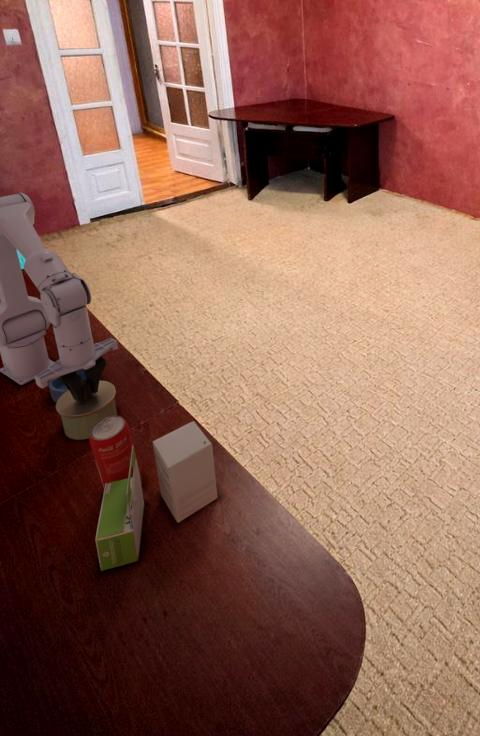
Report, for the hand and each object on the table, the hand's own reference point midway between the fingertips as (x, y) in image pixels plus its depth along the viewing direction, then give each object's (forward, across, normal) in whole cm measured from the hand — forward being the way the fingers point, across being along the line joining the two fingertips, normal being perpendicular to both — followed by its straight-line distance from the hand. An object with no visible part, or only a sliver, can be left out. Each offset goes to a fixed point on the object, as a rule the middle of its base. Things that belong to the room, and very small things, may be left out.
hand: (85, 395), depth 97 cm
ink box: (+7, -12, -28) cm, 31 cm away
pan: (+7, +4, +12) cm, 14 cm away
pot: (+7, 0, 0) cm, 7 cm away
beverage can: (+7, -7, -20) cm, 22 cm away
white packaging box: (+7, -2, -31) cm, 32 cm away
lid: (+1, 0, 0) cm, 1 cm away
